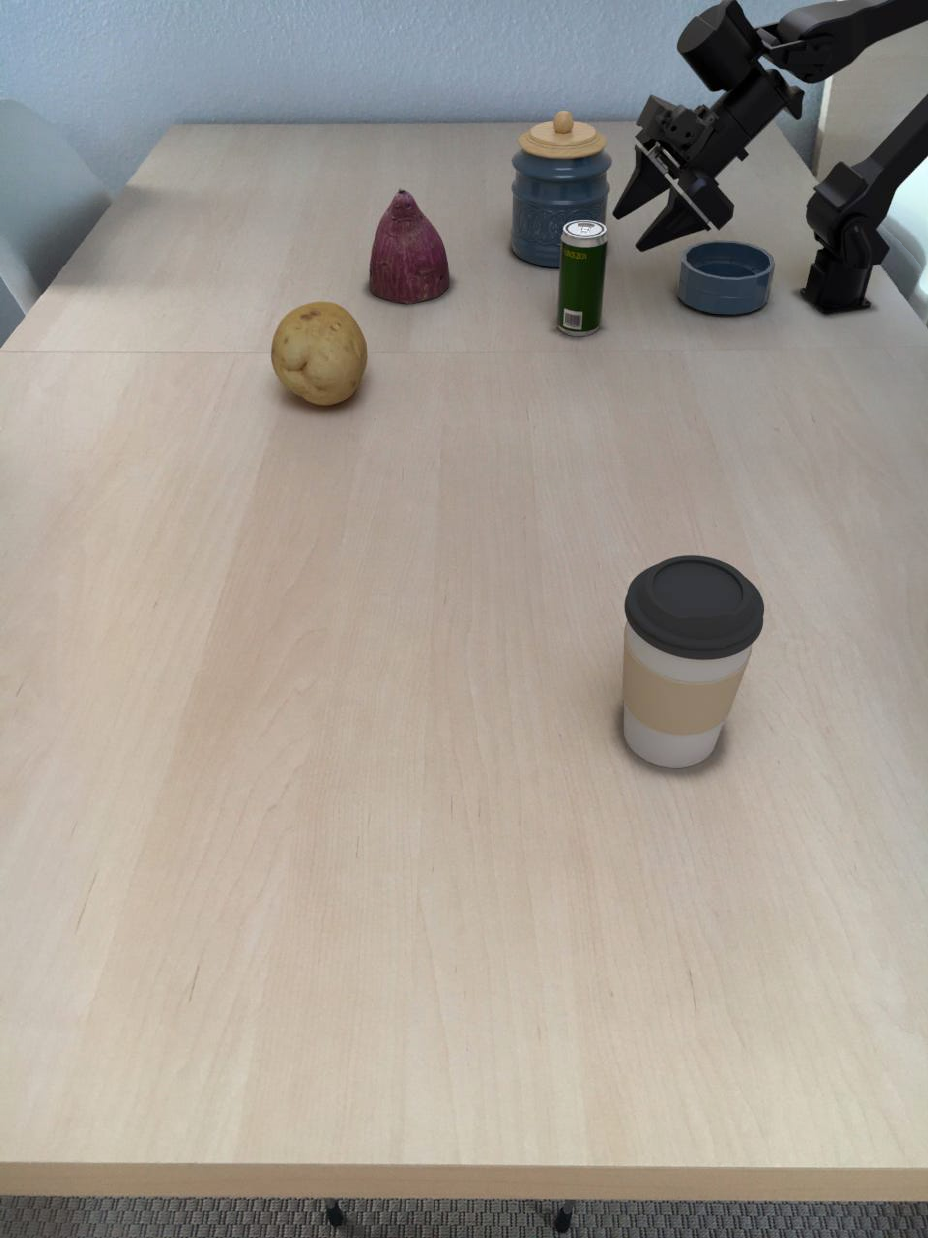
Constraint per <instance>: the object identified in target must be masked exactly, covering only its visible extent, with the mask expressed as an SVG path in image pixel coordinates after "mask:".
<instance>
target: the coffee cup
mask: <svg viewBox="0 0 928 1238" xmlns="http://www.w3.org/2000/svg"><path fill="white" fill-rule="evenodd" d="M764 603H765V602H764V600H763V597H762V595H761V593H760V591H759V590H758V588H757V587H756V585H754V583H753V582H752V581H751V580H750V579H748V578H747V577H746V576H745V575H744V574H743V573H742V572H741V571H740V570H739V569H738V568H736V567H734V566H733V565H731V564H730V563H728V562H725V561H723V560H720V559H718V558H714V557H711V556H705V555H698V554H697V555H696V554H686V555H685V554H684V555H677V556H673V557H669V558H666V559H664V560H662V561H660V562H658V563H655V564H654V565H651V566H649V567H647V568H646V569H644V570H642V571H641V572H640V573H638V574H637V575H636V576H635V577H634V578H633V580H632V581H631V582H630V584H629V586H628V588H627V593H626V596H625V599H624V605H623V606H624V614H625V618H626V621H625V625H624V628H623V657H622V660H623V661H622V698H623V702H624V703H623V704H624V705H623V736H624V739H625V741H626V743H627V745H628V746H629V748H630V749H631V750H632V751H633V752H634V753H635V755H637V756H638V757H639V758H641V759H642V760H644V761H646V762H648V763H651V764H652V765H655V766H658V767H663V768H670V769H683V768H688V767H692V766H695V765H697V764H700V763H701V762H704V761H705V760H706V759H707V758H708V757H709V756H710V755H711V754H712V753H713V751H714V750H715V747H716V746H717V745H716V744H717V742H718V739H719V737H720V733H721V731H722V728H723V726H724V723H725V720H726V719H727V717H728V716H729V714H730V712H731V709H732V707H733V705H734V702H735V698H736V696H737V693H738V691H739V688H740V687H741V683H742V680H743V677H744V675H745V673H746V670H747V667H748V664H749V662H750V659H751V656H752V652H753V644H754V643H756V640H757V639H758V638H759V636H760V634H761V633H762V630H763V626H764V614H765V604H764Z"/></svg>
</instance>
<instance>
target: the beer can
mask: <svg viewBox="0 0 928 1238" xmlns="http://www.w3.org/2000/svg"><path fill="white" fill-rule="evenodd" d="M607 230H608V229H607V226H606V224H605V225H603V224H601V223H599V222H596V221H590V220H578V221H573V222H569V223H567V224H566V225H565V226H564V227H563V233H562V235H561V245H560V266H559V267H558V269H559V270H558V288H557V306H556V307H557V309H556V324H557V326H558V329H559V331H560V332H562V333H563V334H564V335H568V336H572V337H587V336H590V335H593V334H595V333H596V332H597V331H598V329H600V326H601V324H602V315H603V314H602V313H603V304H604V291H605V279H606V267H607V256H608V244H609V243H608V242H609V235H608V233H607Z"/></svg>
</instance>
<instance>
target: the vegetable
mask: <svg viewBox="0 0 928 1238" xmlns="http://www.w3.org/2000/svg"><path fill="white" fill-rule="evenodd" d="M369 262H370V263H369V281H368V282H369V291H370V292H371V294H372V295H374V296H376V297H378V298H379V299H384V300H387V301H388V302H389V301H390V302H393V303H398V304H399V303H400V304H404V305H406V304H416V303H420V302H421V303H422V302H424V301H425V302H426V301H429V300H432V299H436V298H437V297H439V296H441V295H442V294H443V293H444V292H445V291H446V290H448V288H449V287H450V282H451V281H450V269H449V262H448V256H447V251H446V248H445V244H444V242H443V239H442V238H441V236H440V234H439V232H438V231H437V229H436V227H435V226H434V225H433V223H432V222H431V221H430V219H429V218H428V216H427V215H425V214H424V212H423V211H422V210H421V208H420V207H419V205H418V204H417V202H416V200H415V197H414V196H413V195H412V194H411V193H410V192H409V191H407V190H405V189H403V188H402V187H398V191H397V192H396V194H395V195H394V196H393V198H392V200H391V202H390V204H389V206H388V207H387V208H386V209H385V211H384V212H383V214H382V216H381V217H380V220H379V222H378V224H377V226H376V230H375V235H374V239H373V244H372V246H371V253H370V261H369Z"/></svg>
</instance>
